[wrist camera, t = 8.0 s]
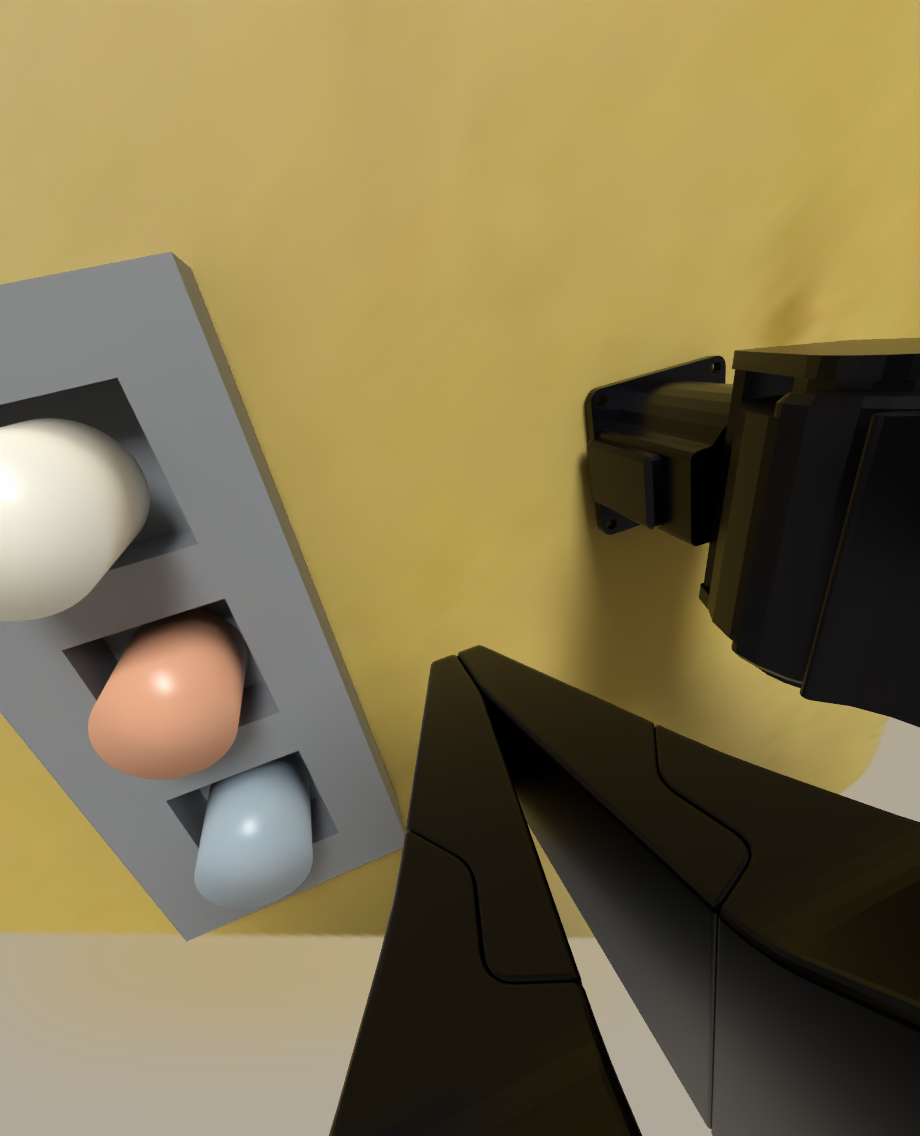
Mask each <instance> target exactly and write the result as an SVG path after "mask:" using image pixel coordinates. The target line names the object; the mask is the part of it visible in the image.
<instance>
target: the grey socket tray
mask: <svg viewBox="0 0 920 1136" xmlns="http://www.w3.org/2000/svg"><path fill="white" fill-rule="evenodd" d="M40 418H57V419H66V420H71V421H76V422H79V423H83V424H86V425H88V426H91V427H93V428H96V429H98V430H99V431H101V432H103V433H105V434H107V435H108V436H110V437H111V438H113V439H114V440H116V441H117V442H118V443H119V444H121V445H122V446H123V447H124V448H125V449H126V450H127V451H128V452H129V453H130V454H131V455H132V456H133V458H134V459H135V460H136V462H137V463H138V464H139V466H140V468H141V470H142V471H143V473H144V476H145V478H146V480H147V484H148V488H149V494H150V508H149V513H148V517H147V519H146V522H145V524H144V526H143V528H142V529H141V531H140V532H139V533H138V535H137V536H136V537H135V538H134V539H133V541H132V542H131V543H130V544H129V545H128V547H127V548H126V549H125V550H124V552H123V553H122V554H121V555H120V556H119V558H118V559H117V560H116V561H115V562H114V564H113V565H112V566H111V567H110V568H109V570H108V571H107V572H106V573H105V575H104V576H103V577H102V578H101V579H100V581H99V582H98V583H97V584H96V585H95V587H94V588H93V589H92V590H91V591H90V593H88V594H87V595H86V596H85V597H84V598H83V599H82V600H81V601H79V602H78V603H76V604H75V605H73V606H72V607H70V608H68V609H66V610H64V611H62V612H59V613H57V614H54V615H51V616H48V617H44V618H40V619H35V620H28V621H13V622H6V621H0V713H1V714H2V715H3V716H4V718H5V719H6V720H7V721H8V722H9V724H10V725H11V726H12V727H13V729H14V730H15V731H16V732H17V734H18V735H19V736H20V737H21V738H22V740H23V741H24V742H25V743H26V745H27V746H28V747H29V748H30V750H31V751H32V752H33V753H34V754H35V756H36V757H37V758H38V759H39V761H40V762H41V763H42V764H43V766H44V767H45V768H46V769H47V770H48V772H49V773H50V774H51V775H52V777H53V778H54V779H55V780H56V782H57V783H58V784H59V785H60V786H61V788H62V789H63V790H64V791H65V793H66V794H67V795H68V796H69V798H70V799H71V800H72V801H73V802H74V804H75V805H76V806H77V807H78V809H79V810H80V811H81V812H82V814H83V815H84V816H85V817H86V818H87V820H88V821H89V822H90V823H91V825H92V826H93V827H94V828H95V830H96V831H97V832H98V833H99V834H100V836H101V837H102V838H103V839H104V841H105V842H106V843H107V844H108V846H109V847H110V848H111V849H112V850H113V852H114V853H115V854H116V855H117V857H118V858H119V859H120V860H121V861H122V863H123V864H124V865H125V866H126V868H127V869H128V870H129V871H130V873H131V874H132V875H133V876H134V877H135V879H136V880H137V881H138V882H139V884H140V885H141V886H142V887H143V889H144V890H145V891H146V892H147V893H148V895H149V896H150V897H151V898H152V900H153V901H154V902H155V903H156V905H157V906H158V907H159V908H160V909H161V911H162V912H163V913H164V914H165V916H166V917H167V918H168V919H169V921H170V922H171V923H172V924H173V925H174V927H175V928H176V929H177V930H178V932H179V933H180V934H181V935H182V937H183V938H184V939H185V940H186V941H188V940H191V939H193V938H195V937H198V936H200V935H202V934H205V933H207V932H209V931H212V930H214V929H216V928H219V927H221V926H223V925H225V924H228V923H230V922H232V921H235V920H237V919H239V918H242V917H244V916H246V915H249V914H251V913H253V912H256V911H258V910H260V909H262V908H265V907H267V906H269V905H272V904H274V903H276V902H279V901H281V900H283V899H286V898H288V897H290V896H293V895H295V894H297V893H299V892H302V891H304V890H306V889H309V888H311V887H313V886H316V885H318V884H320V883H323V882H325V881H327V880H330V879H332V878H334V877H337V876H339V875H341V874H343V873H346V872H348V871H350V870H353V869H355V868H357V867H360V866H362V865H364V864H367V863H369V862H371V861H374V860H376V859H378V858H380V857H383V856H385V855H387V854H390V853H392V852H394V851H397V850H399V849H401V848H403V844H404V838H405V830H404V826H403V821H402V817H401V813H400V809H399V805H398V801H397V796H396V794H395V791H394V789H393V786H392V783H391V781H390V778H389V776H388V773H387V771H386V768H385V765H384V763H383V760H382V758H381V755H380V753H379V750H378V747H377V745H376V742H375V740H374V737H373V735H372V732H371V729H370V727H369V724H368V722H367V719H366V717H365V714H364V711H363V709H362V706H361V704H360V701H359V699H358V696H357V694H356V691H355V688H354V686H353V683H352V681H351V678H350V676H349V673H348V670H347V668H346V665H345V663H344V660H343V658H342V655H341V652H340V650H339V647H338V645H337V642H336V640H335V637H334V634H333V632H332V629H331V627H330V624H329V622H328V619H327V616H326V614H325V611H324V609H323V606H322V604H321V601H320V599H319V596H318V593H317V591H316V588H315V586H314V583H313V581H312V578H311V575H310V573H309V570H308V568H307V565H306V563H305V560H304V557H303V555H302V552H301V550H300V547H299V545H298V542H297V539H296V537H295V534H294V532H293V529H292V527H291V524H290V521H289V519H288V516H287V514H286V511H285V509H284V506H283V504H282V501H281V498H280V496H279V493H278V491H277V488H276V486H275V483H274V480H273V478H272V475H271V473H270V470H269V468H268V465H267V462H266V460H265V457H264V455H263V452H262V450H261V447H260V444H259V442H258V439H257V437H256V434H255V432H254V429H253V427H252V424H251V421H250V419H249V416H248V414H247V411H246V409H245V406H244V403H243V401H242V398H241V396H240V393H239V391H238V388H237V385H236V383H235V380H234V378H233V375H232V373H231V370H230V367H229V365H228V362H227V360H226V357H225V355H224V352H223V349H222V347H221V344H220V342H219V339H218V337H217V334H216V332H215V329H214V326H213V324H212V321H211V319H210V316H209V314H208V311H207V308H206V306H205V303H204V301H203V298H202V296H201V293H200V290H199V288H198V285H197V283H196V280H195V278H194V275H193V272H192V270H191V268H190V267H188V266H187V265H186V264H185V263H184V262H183V261H181V260H180V259H179V258H178V257H177V256H175V255H174V254H173V253H172V252H168V253H162V254H157V255H152V256H147V257H142V258H137V259H131V260H126V261H121V262H116V263H111V264H106V265H101V266H95V267H90V268H85V269H80V270H75V271H70V272H64V273H59V274H54V275H49V276H44V277H39V278H34V279H28V280H23V281H18V282H13V283H8V284H3V285H0V427H4V426H8V425H12V424H16V423H19V422H23V421H27V420H33V419H40ZM190 609H195V610H202V611H206V612H210V613H213V614H215V615H218V616H220V617H222V618H223V619H225V620H227V621H228V622H229V623H231V624H232V625H233V626H234V627H235V628H236V629H237V630H238V631H239V633H240V634H241V636H242V637H243V639H244V641H245V644H246V648H247V656H248V657H247V666H246V673H245V680H244V688H243V695H242V702H241V710H240V717H239V725H238V731H237V735H236V738H235V740H234V742H233V744H232V746H231V747H230V749H229V750H228V751H227V752H226V754H225V755H224V756H223V757H222V758H220V759H219V760H218V761H217V762H216V763H214V764H213V765H211V766H210V767H208V768H206V769H204V770H202V771H200V772H197V773H195V774H192V775H189V776H185V777H181V778H175V779H164V780H155V779H145V778H139V777H135V776H131V775H128V774H126V773H123V772H121V771H119V770H117V769H115V768H113V767H112V766H110V765H109V764H107V763H106V762H105V761H104V760H103V759H102V758H101V757H100V756H99V755H98V754H97V753H96V751H95V749H94V748H93V746H92V744H91V741H90V739H89V734H88V722H89V716H90V714H91V711H92V709H93V707H94V705H95V703H96V701H97V700H98V698H99V696H100V694H101V692H102V691H103V689H104V687H105V685H106V683H107V681H108V680H109V678H110V676H111V674H112V672H113V671H114V669H115V667H116V665H117V663H118V661H119V660H120V658H121V656H122V654H123V652H124V651H125V649H126V647H127V645H128V643H129V641H130V640H131V638H132V636H133V635H134V633H135V632H136V631H137V629H138V628H139V627H140V626H141V625H143V624H146V623H149V622H152V621H156V620H159V619H162V618H165V617H168V616H171V615H174V614H178V613H181V612H184V611H187V610H190ZM288 754H293V755H294V756H296V757H297V758H299V759H300V760H301V761H302V762H303V763H304V765H305V766H306V768H307V771H308V774H309V785H310V807H311V828H312V849H313V862H312V867H311V870H310V872H309V874H308V876H307V877H306V879H305V880H304V881H303V882H302V883H301V884H300V886H298V887H297V888H296V889H295V890H294V891H292V892H291V893H290V894H288V895H286V896H285V897H283V898H281V899H279V900H277V901H275V902H272V903H269V904H266V905H263V906H258V907H253V908H242V909H237V908H227V907H223V906H219V905H216V904H214V903H212V902H210V901H208V900H207V899H205V898H204V897H203V896H202V895H201V894H200V893H199V891H198V890H197V888H196V885H195V880H194V874H195V868H196V862H197V857H198V851H199V845H200V840H201V834H202V829H203V823H204V818H205V812H206V807H207V801H208V796H209V790H210V785H211V784H212V783H215V782H217V781H220V780H222V779H225V778H228V777H230V776H233V775H236V774H238V773H241V772H243V771H246V770H249V769H251V768H254V767H257V766H259V765H262V764H264V763H267V762H270V761H272V760H275V759H277V758H280V757H283V756H285V755H288Z"/></svg>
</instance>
